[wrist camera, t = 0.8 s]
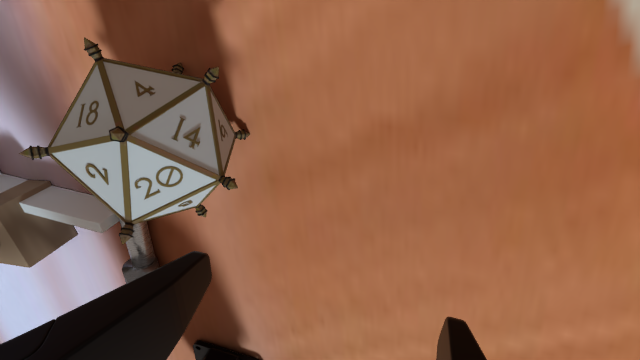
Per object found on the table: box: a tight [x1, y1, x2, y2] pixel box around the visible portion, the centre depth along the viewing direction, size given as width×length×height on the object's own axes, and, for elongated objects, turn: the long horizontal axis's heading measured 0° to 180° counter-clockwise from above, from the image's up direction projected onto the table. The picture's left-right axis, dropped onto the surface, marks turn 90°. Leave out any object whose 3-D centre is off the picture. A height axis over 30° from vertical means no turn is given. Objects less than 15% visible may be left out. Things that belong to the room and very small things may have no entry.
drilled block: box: [0, 180, 78, 268], centre depth 26 cm, size 5×5×4 cm
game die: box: [19, 38, 250, 245], centre depth 16 cm, size 9×8×10 cm
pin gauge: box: [119, 218, 159, 284], centre depth 25 cm, size 8×2×2 cm, turn 177°
